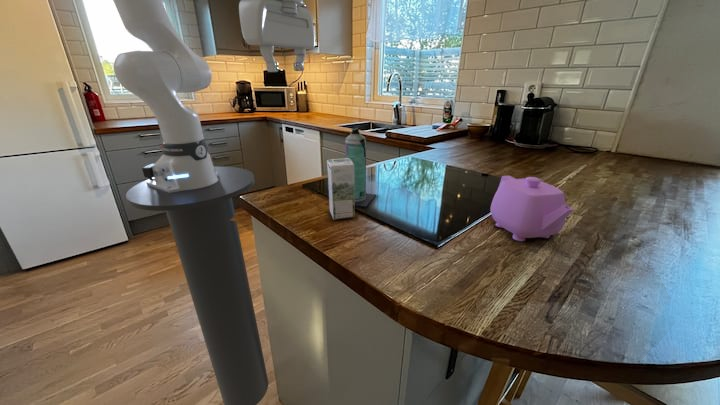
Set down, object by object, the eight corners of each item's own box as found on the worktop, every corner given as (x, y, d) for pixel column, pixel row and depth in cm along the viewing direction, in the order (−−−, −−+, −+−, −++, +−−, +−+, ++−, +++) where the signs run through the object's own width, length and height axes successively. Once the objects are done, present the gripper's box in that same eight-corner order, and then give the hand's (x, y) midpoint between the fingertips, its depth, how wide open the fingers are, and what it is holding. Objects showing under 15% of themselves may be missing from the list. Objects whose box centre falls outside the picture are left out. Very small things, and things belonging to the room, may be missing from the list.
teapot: (474, 214, 77) (482, 167, 72) (516, 210, 79) (527, 164, 74) (529, 258, 59) (545, 199, 54) (582, 250, 61) (602, 193, 56)
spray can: (368, 195, 88) (368, 127, 80) (362, 202, 83) (362, 130, 75) (350, 193, 89) (349, 126, 81) (344, 200, 85) (342, 129, 77)
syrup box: (350, 208, 81) (348, 156, 75) (355, 218, 76) (354, 163, 70) (329, 211, 80) (326, 158, 74) (333, 221, 74) (330, 165, 68)
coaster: (336, 203, 84) (336, 202, 84) (348, 192, 92) (348, 191, 92) (365, 208, 81) (365, 206, 81) (375, 196, 89) (375, 194, 89)
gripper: (295, 4, 68) (300, 70, 73) (228, -17, 50) (241, 72, 56) (320, 2, 65) (323, 70, 71) (257, -21, 48) (268, 72, 54)
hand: (286, 71), depth 64 cm, fingers open, 8 cm apart
